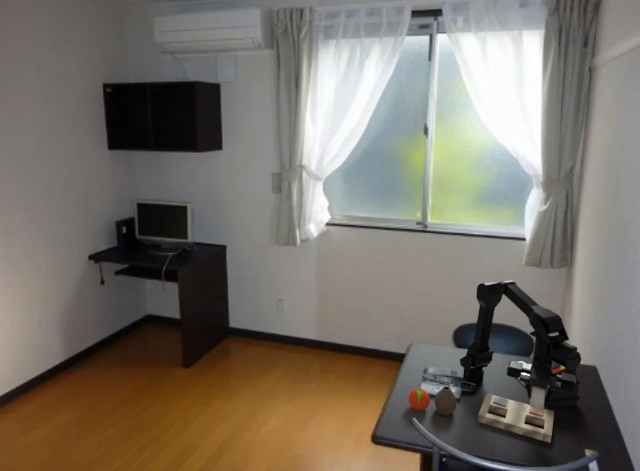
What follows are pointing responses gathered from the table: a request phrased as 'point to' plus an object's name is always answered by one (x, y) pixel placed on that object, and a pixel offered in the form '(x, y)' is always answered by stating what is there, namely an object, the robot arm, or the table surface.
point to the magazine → (564, 391)
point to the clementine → (419, 399)
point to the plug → (537, 398)
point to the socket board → (516, 417)
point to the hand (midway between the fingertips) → (537, 400)
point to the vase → (445, 401)
